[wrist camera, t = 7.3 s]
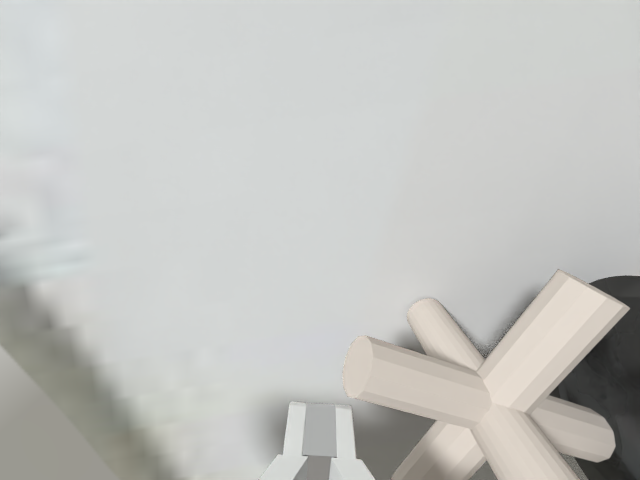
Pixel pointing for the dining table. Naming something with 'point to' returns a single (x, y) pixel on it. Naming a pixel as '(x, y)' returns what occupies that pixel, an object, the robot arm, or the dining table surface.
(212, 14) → the dining table surface
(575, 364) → the beige crossed rods piece
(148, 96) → the dining table surface
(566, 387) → the lidded storage canister
